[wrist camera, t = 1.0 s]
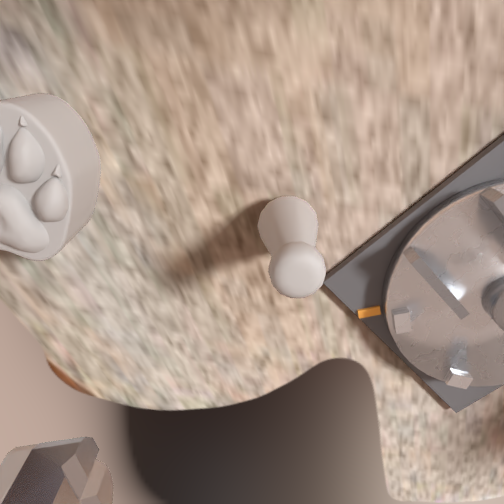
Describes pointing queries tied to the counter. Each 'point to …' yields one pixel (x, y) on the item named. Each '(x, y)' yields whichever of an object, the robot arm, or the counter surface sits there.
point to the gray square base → (382, 251)
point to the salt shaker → (292, 246)
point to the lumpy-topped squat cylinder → (44, 175)
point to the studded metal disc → (452, 290)
